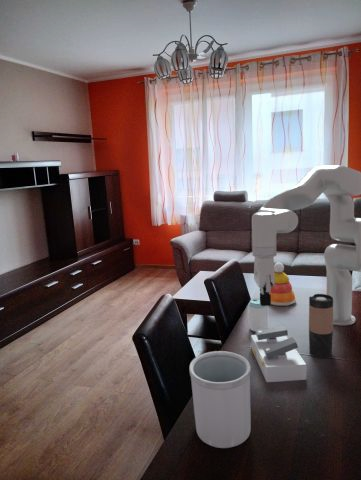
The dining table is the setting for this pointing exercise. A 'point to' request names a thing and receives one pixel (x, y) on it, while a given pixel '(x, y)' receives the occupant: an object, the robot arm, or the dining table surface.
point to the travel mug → (320, 325)
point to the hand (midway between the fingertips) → (265, 304)
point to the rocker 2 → (280, 348)
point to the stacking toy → (281, 288)
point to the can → (257, 315)
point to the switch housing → (278, 361)
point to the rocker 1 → (271, 332)
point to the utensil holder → (221, 398)
